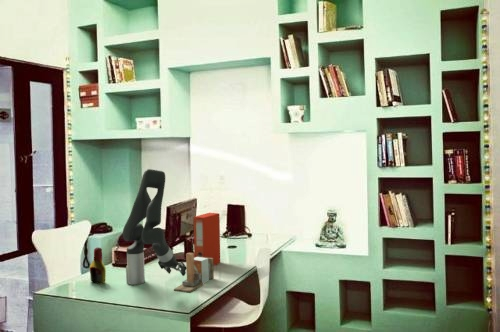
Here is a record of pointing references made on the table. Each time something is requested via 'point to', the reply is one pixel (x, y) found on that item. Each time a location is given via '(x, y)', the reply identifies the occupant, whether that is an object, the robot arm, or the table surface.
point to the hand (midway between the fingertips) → (177, 273)
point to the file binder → (207, 236)
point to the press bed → (190, 288)
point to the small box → (202, 268)
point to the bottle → (97, 267)
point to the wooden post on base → (191, 272)
